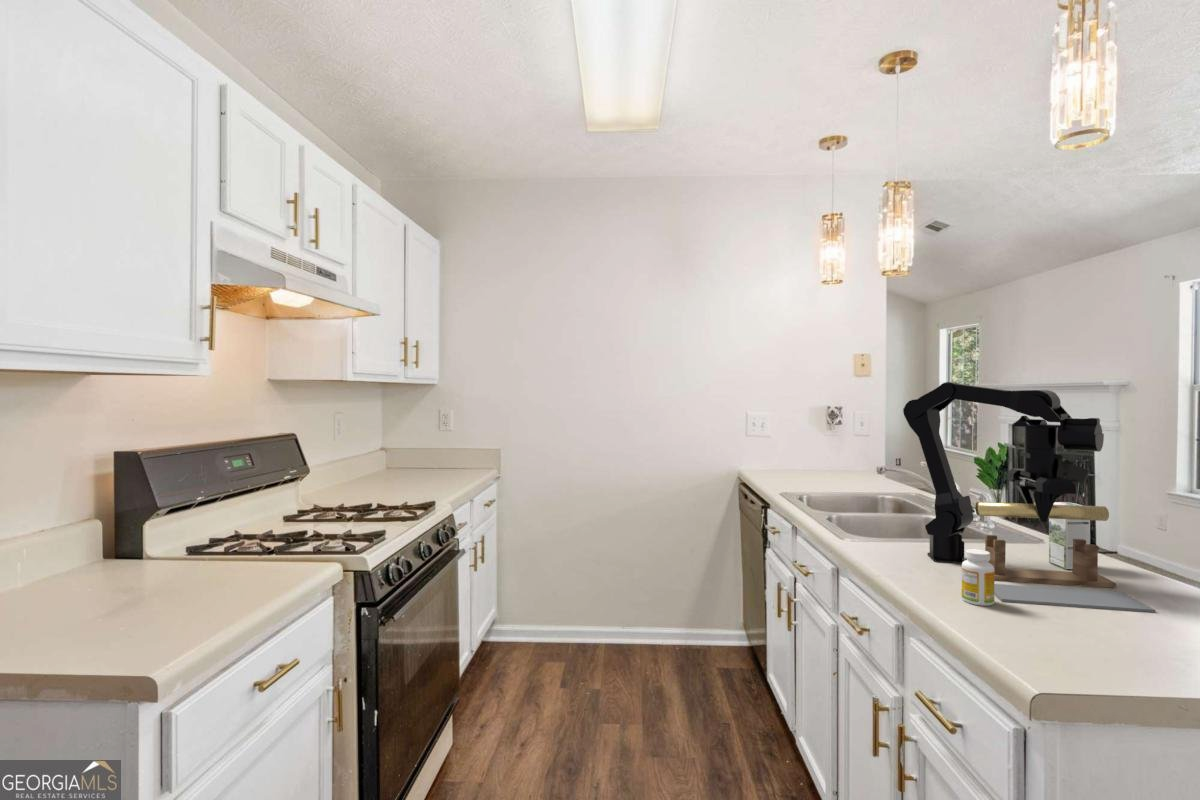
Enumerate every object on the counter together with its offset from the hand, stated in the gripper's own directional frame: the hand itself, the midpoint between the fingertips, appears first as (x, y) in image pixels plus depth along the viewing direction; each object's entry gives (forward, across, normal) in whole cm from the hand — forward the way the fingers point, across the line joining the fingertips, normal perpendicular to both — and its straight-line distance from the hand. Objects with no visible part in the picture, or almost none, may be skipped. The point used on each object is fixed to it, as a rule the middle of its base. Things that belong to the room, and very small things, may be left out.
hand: (1039, 520), depth 132 cm
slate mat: (+13, -13, +1) cm, 18 cm away
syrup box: (+13, +12, -11) cm, 21 cm away
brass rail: (0, 0, 0) cm, 0 cm away
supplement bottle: (+13, -19, +18) cm, 29 cm away
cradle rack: (+13, 0, 0) cm, 13 cm away
